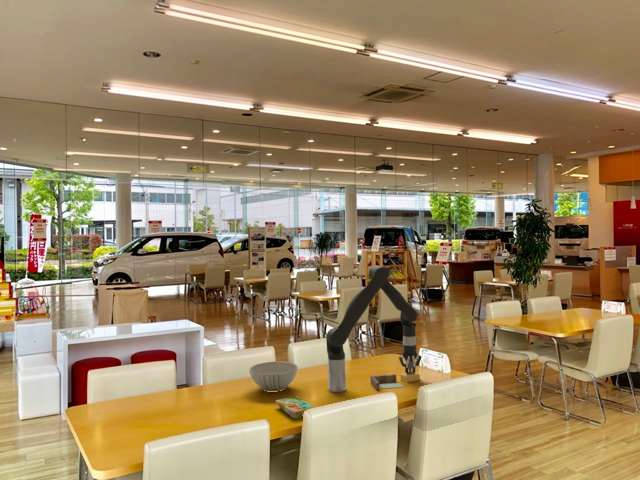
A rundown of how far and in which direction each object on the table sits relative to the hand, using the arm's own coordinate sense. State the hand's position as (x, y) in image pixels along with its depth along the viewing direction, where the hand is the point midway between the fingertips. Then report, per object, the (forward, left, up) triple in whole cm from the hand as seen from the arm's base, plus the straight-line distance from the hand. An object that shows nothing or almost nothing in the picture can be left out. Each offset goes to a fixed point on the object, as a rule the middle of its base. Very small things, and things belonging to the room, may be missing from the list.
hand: (410, 373), depth 289 cm
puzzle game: (-70, -36, -4) cm, 79 cm away
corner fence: (-16, -8, -4) cm, 18 cm away
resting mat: (-14, -8, -4) cm, 17 cm away
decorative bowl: (-78, +1, -4) cm, 78 cm away
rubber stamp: (0, 0, -4) cm, 4 cm away
